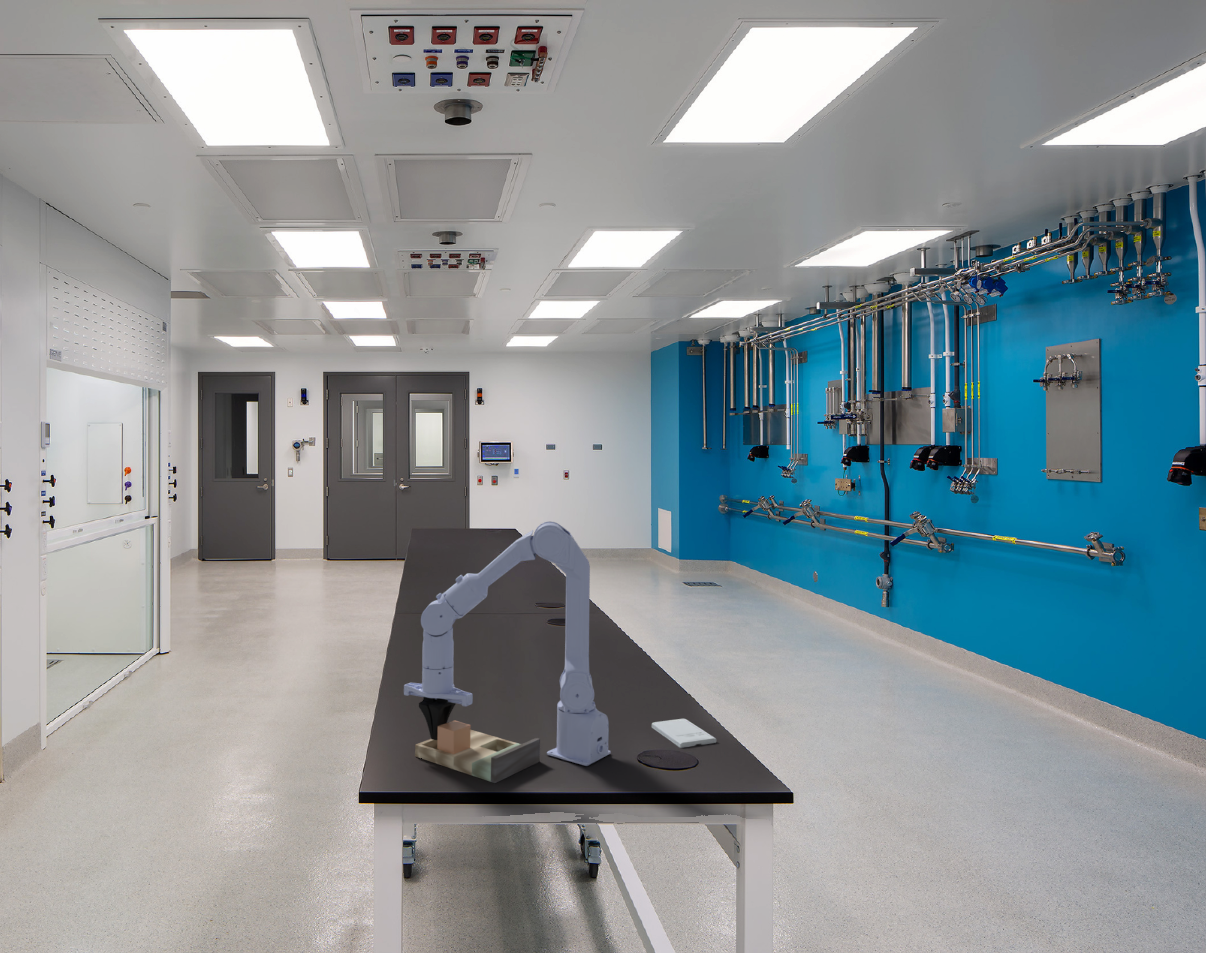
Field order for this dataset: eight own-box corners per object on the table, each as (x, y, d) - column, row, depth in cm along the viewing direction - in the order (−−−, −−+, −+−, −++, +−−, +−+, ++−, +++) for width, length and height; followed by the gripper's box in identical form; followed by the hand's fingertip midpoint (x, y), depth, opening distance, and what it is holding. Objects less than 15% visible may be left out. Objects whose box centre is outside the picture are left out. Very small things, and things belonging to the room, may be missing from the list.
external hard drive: (685, 725, 165) (716, 745, 154) (651, 730, 162) (680, 750, 150) (685, 718, 165) (716, 737, 154) (651, 722, 162) (680, 742, 150)
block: (470, 747, 143) (470, 725, 143) (453, 754, 139) (453, 731, 139) (454, 742, 145) (454, 720, 145) (437, 749, 142) (437, 726, 142)
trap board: (539, 761, 142) (540, 739, 142) (495, 783, 132) (495, 759, 132) (461, 738, 154) (461, 717, 154) (415, 756, 144) (415, 734, 144)
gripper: (482, 665, 145) (481, 738, 145) (421, 656, 151) (420, 725, 151) (459, 674, 138) (458, 750, 139) (396, 664, 145) (395, 736, 145)
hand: (437, 738), depth 145 cm, fingers closed
